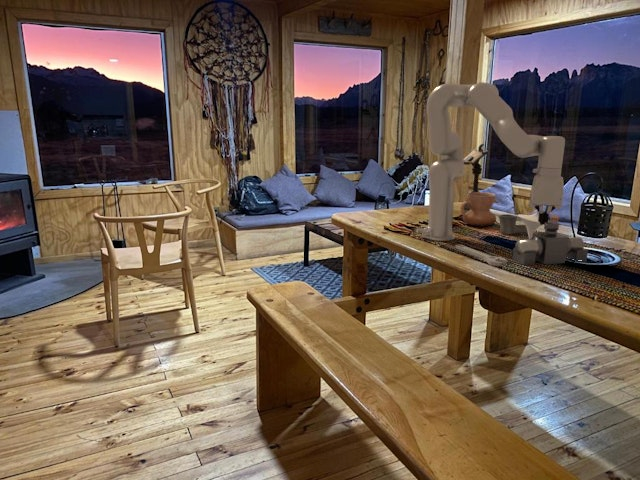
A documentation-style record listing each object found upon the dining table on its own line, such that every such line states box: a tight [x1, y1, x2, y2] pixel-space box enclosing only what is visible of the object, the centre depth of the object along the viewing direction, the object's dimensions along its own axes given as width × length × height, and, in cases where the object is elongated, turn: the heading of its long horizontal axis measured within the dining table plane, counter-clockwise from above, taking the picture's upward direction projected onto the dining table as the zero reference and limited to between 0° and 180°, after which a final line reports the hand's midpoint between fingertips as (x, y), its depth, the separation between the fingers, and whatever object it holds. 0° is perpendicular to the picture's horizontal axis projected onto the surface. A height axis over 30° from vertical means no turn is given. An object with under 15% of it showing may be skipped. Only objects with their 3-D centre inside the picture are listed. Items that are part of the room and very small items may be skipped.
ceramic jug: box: [460, 191, 500, 227], centre depth 217 cm, size 18×14×14 cm
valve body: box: [512, 229, 589, 266], centre depth 164 cm, size 23×8×11 cm, turn 99°
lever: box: [543, 214, 560, 231], centre depth 167 cm, size 17×4×2 cm, turn 151°
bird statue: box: [463, 143, 489, 213], centre depth 241 cm, size 17×13×35 cm
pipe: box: [497, 213, 528, 236], centre depth 201 cm, size 6×13×8 cm, turn 77°
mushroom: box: [517, 211, 544, 240], centre depth 188 cm, size 10×11×12 cm
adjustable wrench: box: [455, 244, 508, 267], centre depth 171 cm, size 25×6×2 cm, turn 16°
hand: (542, 223), depth 171 cm, fingers closed
